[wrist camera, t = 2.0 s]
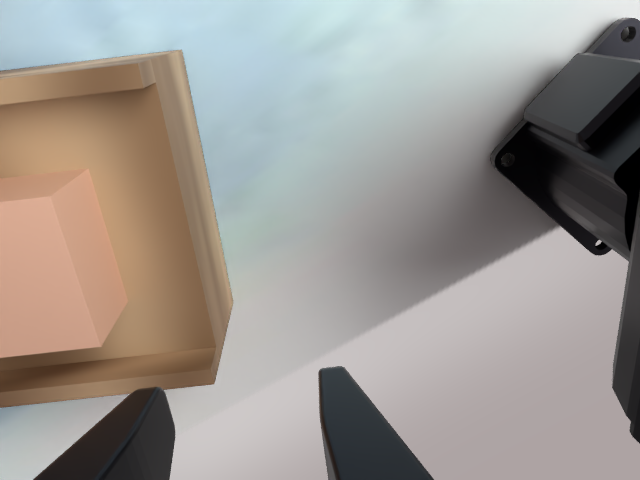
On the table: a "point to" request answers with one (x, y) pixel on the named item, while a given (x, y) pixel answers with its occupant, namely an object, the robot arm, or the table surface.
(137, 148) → the wooden box
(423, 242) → the table surface
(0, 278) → the tile
